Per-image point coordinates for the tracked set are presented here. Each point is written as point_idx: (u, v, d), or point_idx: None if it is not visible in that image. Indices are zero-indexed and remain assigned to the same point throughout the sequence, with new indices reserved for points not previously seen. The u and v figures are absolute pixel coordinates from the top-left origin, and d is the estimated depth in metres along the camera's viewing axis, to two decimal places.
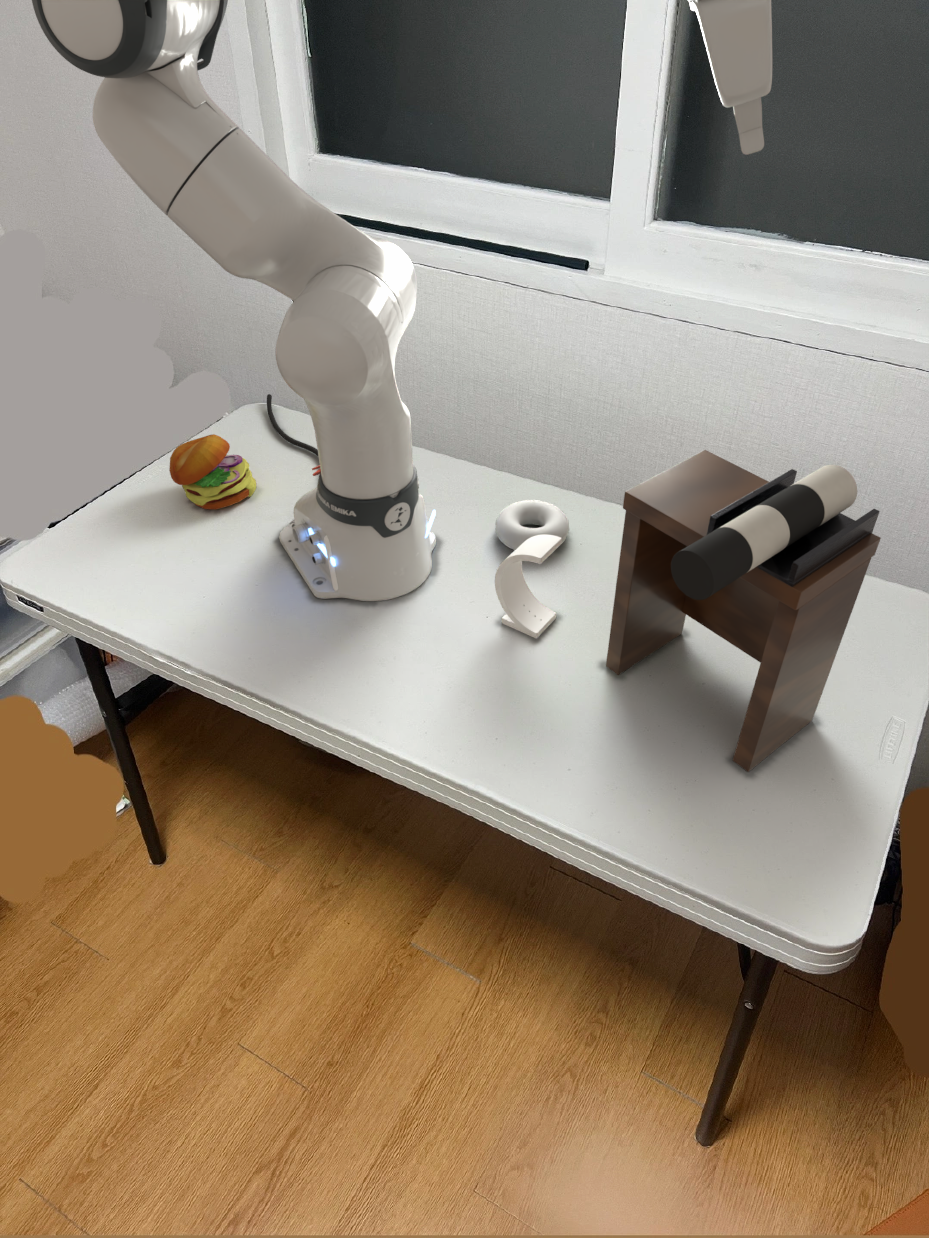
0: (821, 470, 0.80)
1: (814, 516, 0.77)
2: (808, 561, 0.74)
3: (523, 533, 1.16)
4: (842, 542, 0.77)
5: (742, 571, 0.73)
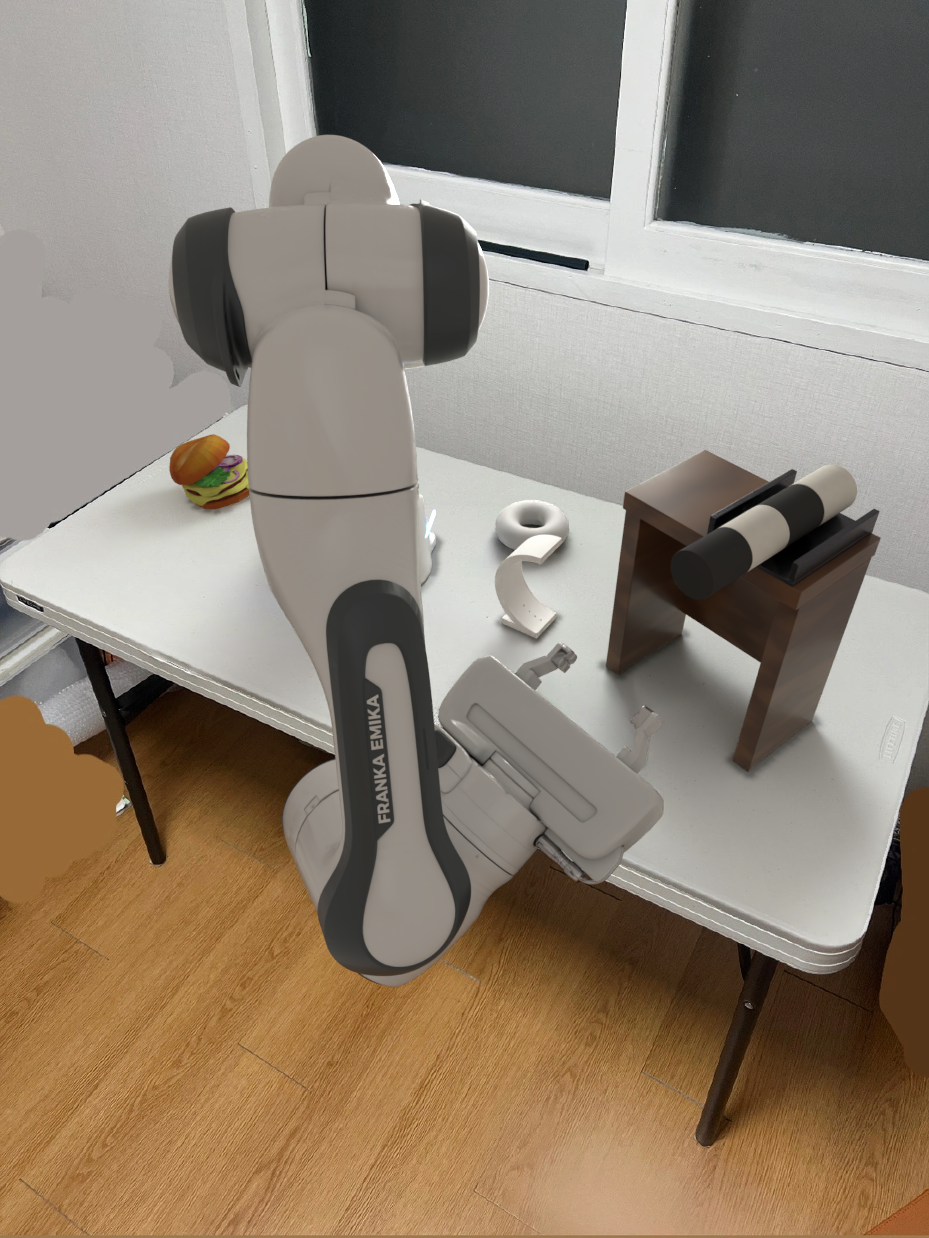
0: (820, 470, 0.80)
1: (814, 515, 0.77)
2: (808, 561, 0.74)
3: (523, 533, 1.16)
4: (842, 542, 0.77)
5: (742, 570, 0.73)
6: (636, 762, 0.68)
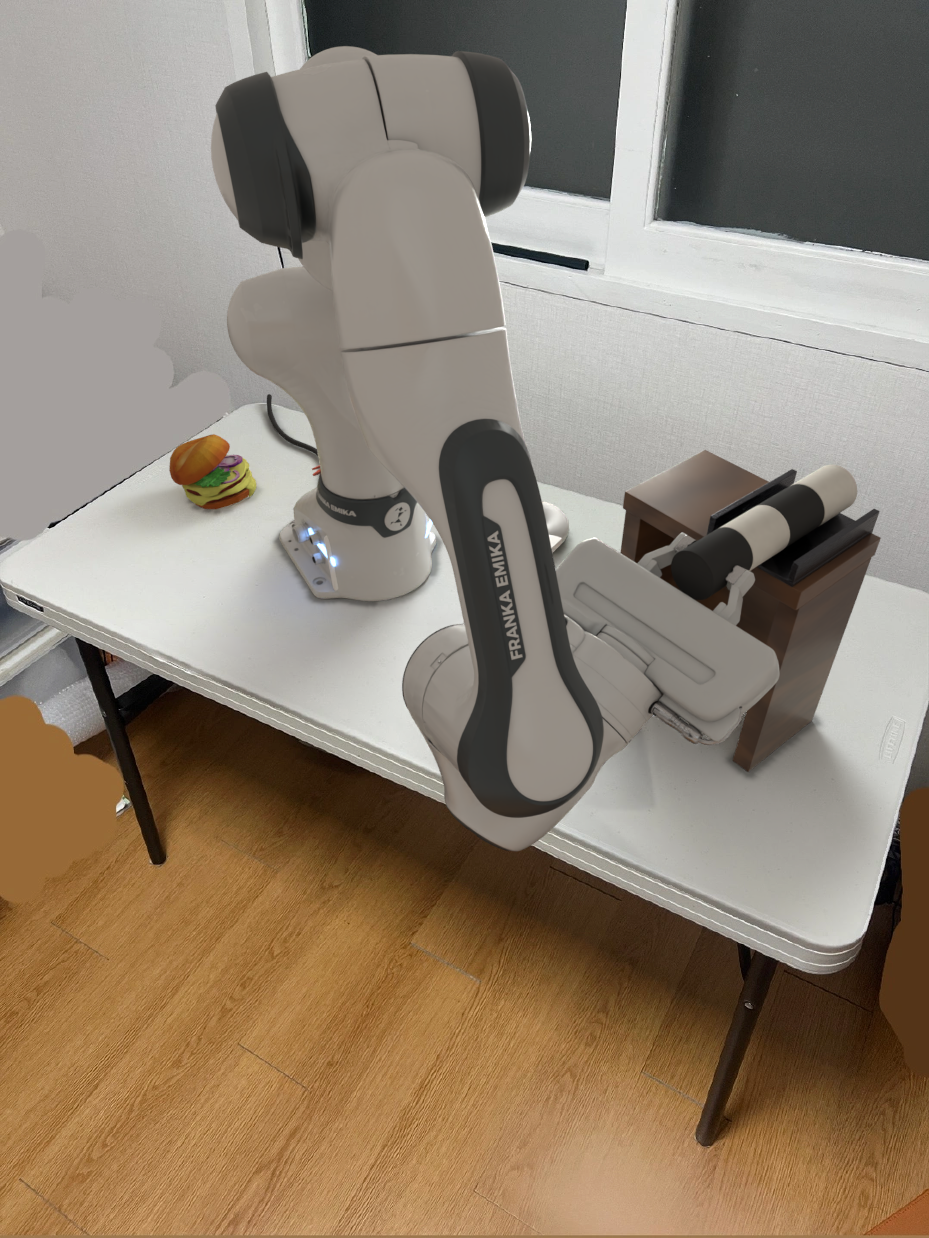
0: (821, 470, 0.80)
1: (814, 516, 0.77)
2: (808, 561, 0.74)
3: None
4: (842, 542, 0.77)
5: None
6: (732, 616, 0.70)
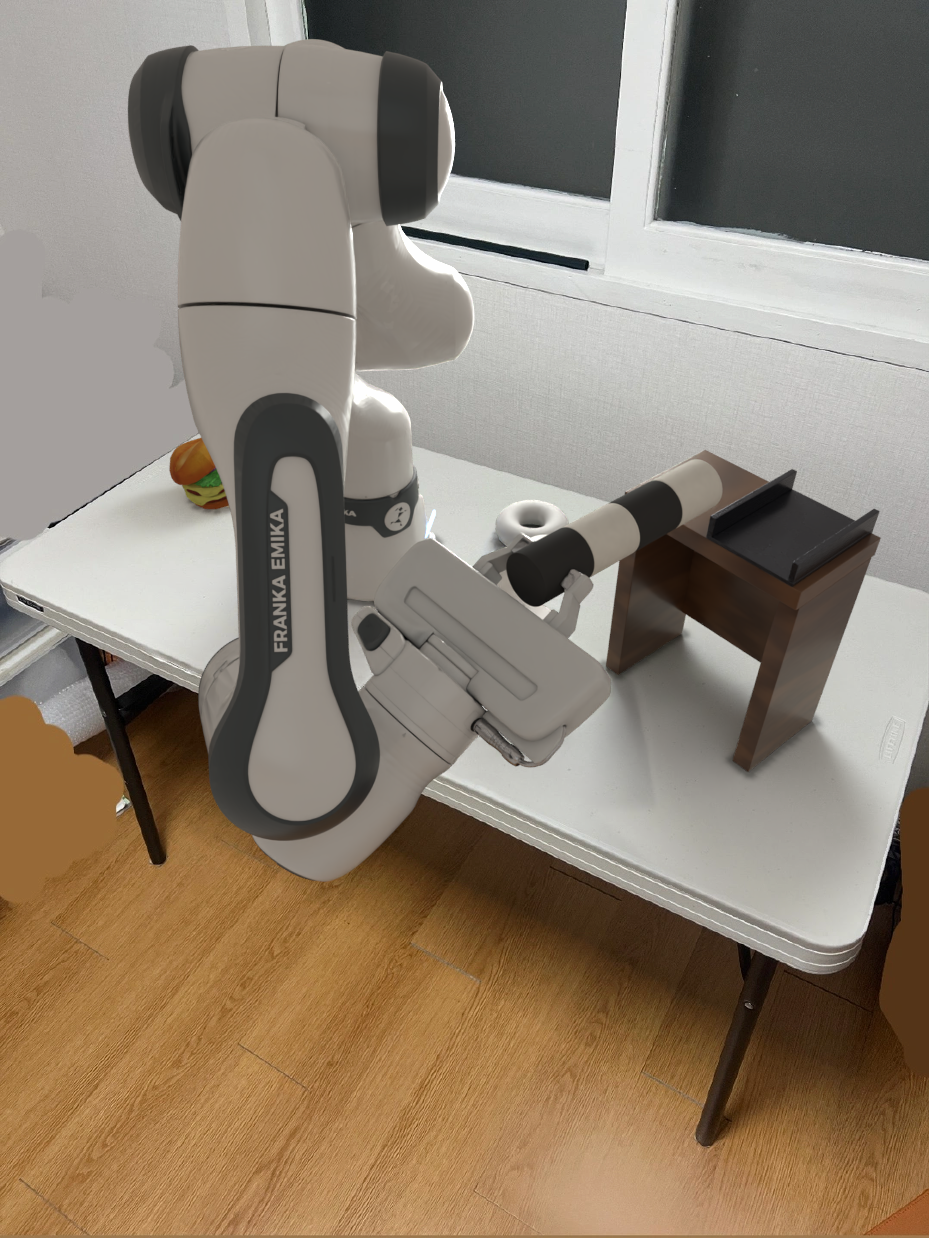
0: (683, 465, 0.74)
1: (669, 515, 0.70)
2: (808, 561, 0.74)
3: None
4: (842, 542, 0.77)
5: None
6: (563, 625, 0.64)
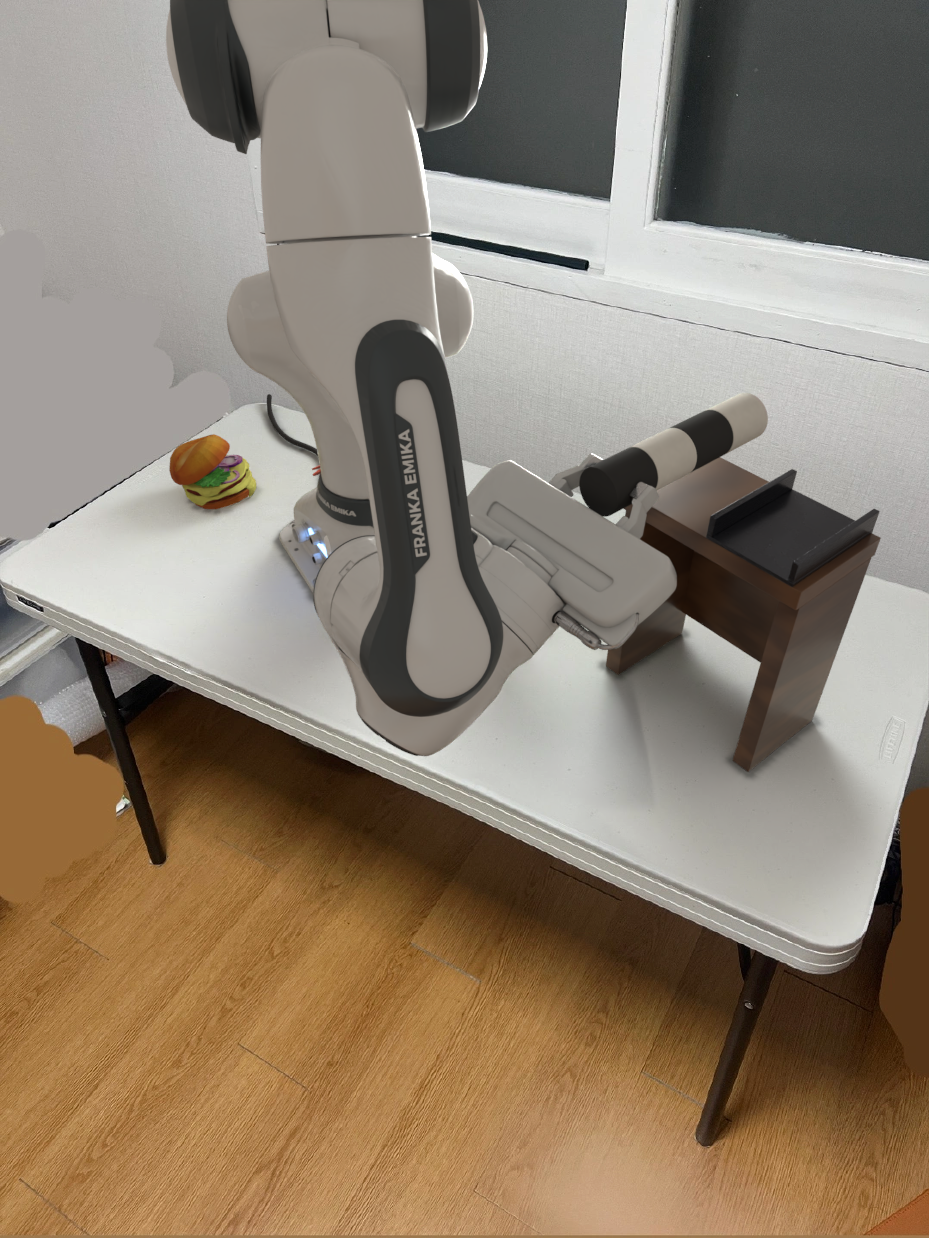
0: (733, 398, 0.82)
1: (722, 439, 0.79)
2: (808, 561, 0.74)
3: None
4: (842, 542, 0.77)
5: None
6: (634, 529, 0.72)
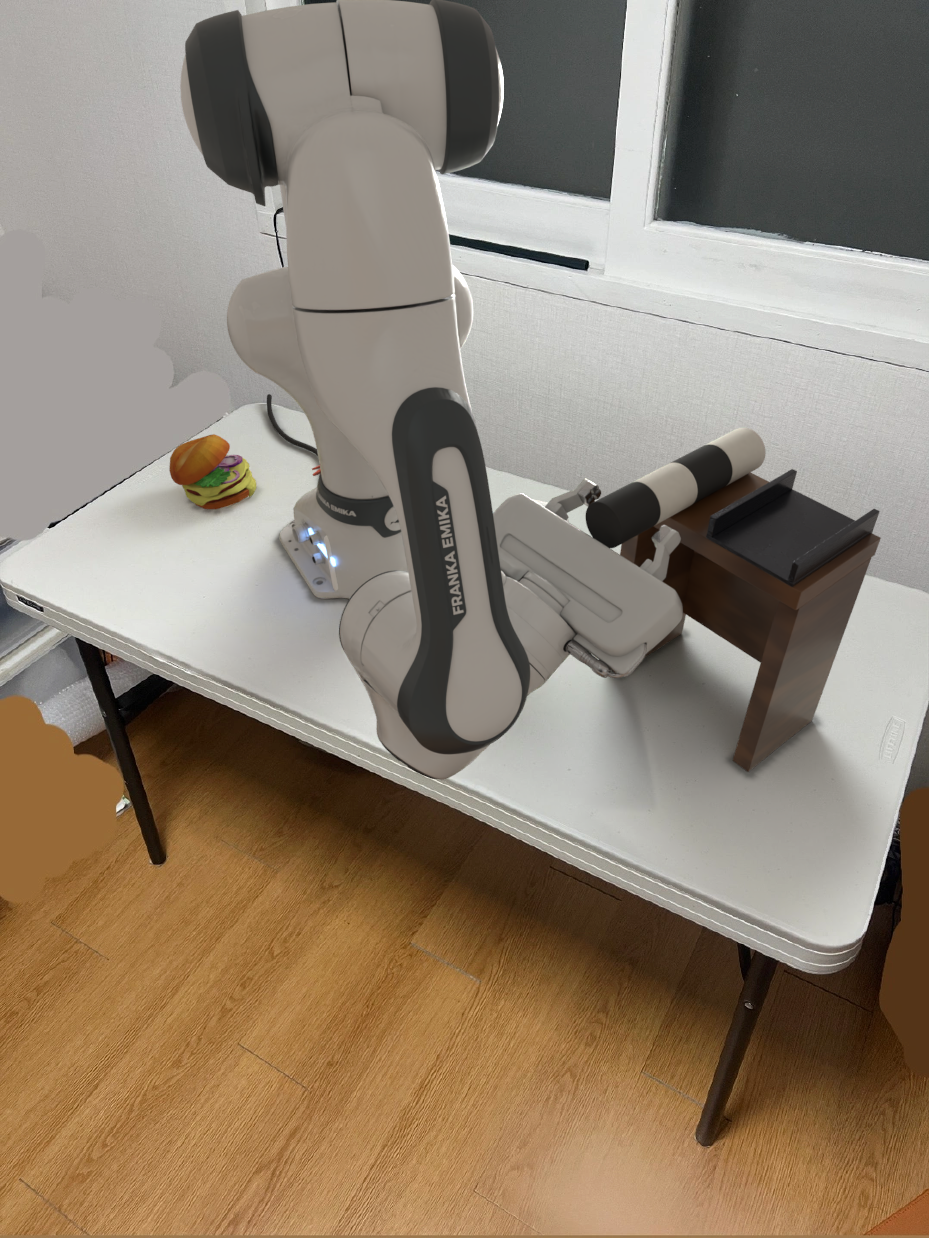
0: (728, 433, 0.86)
1: (721, 469, 0.83)
2: (808, 561, 0.74)
3: None
4: (842, 542, 0.77)
5: (651, 517, 0.78)
6: (657, 572, 0.74)
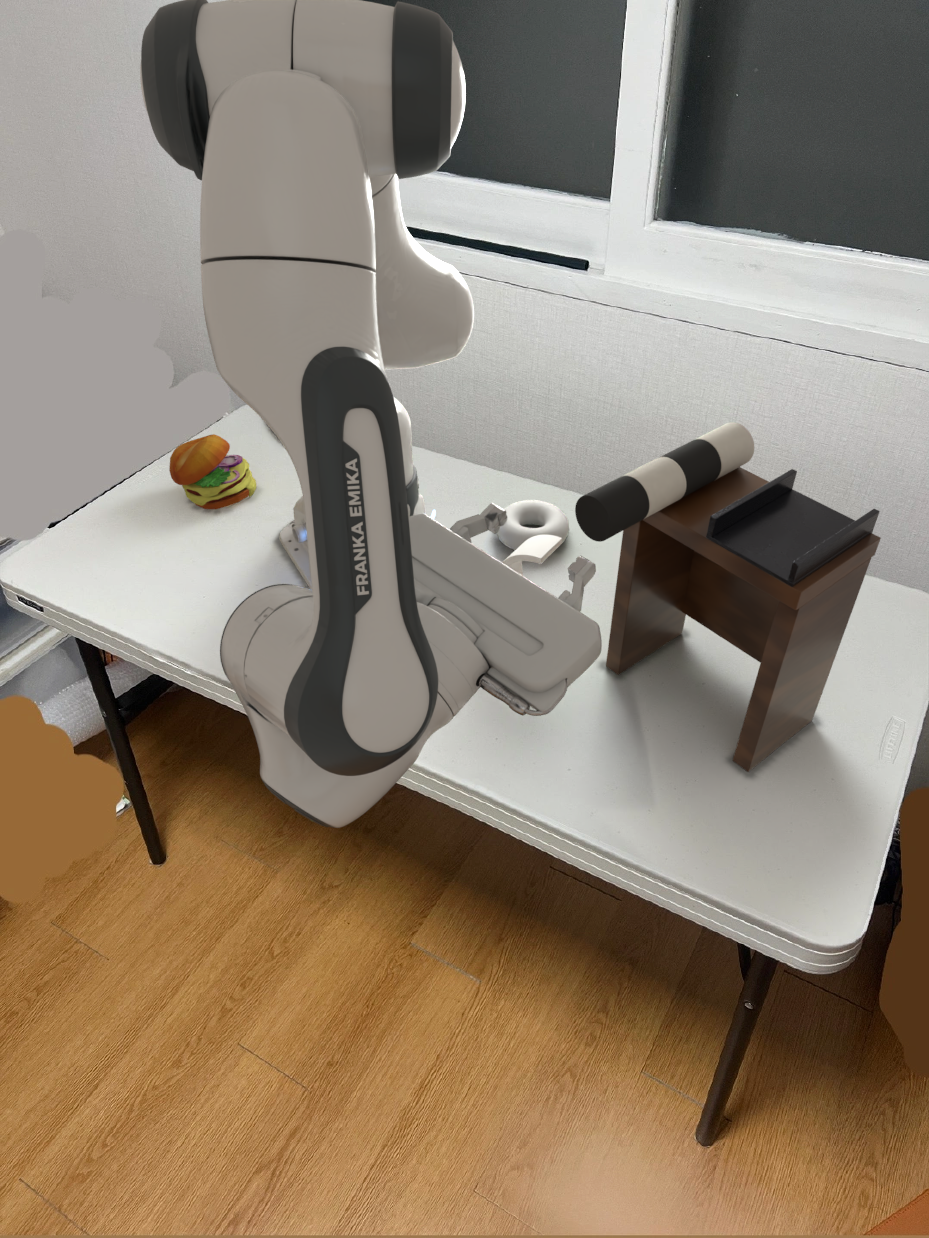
0: None
1: (703, 451, 0.83)
2: (808, 561, 0.74)
3: (523, 533, 1.16)
4: (842, 542, 0.77)
5: (637, 497, 0.79)
6: (576, 604, 0.71)
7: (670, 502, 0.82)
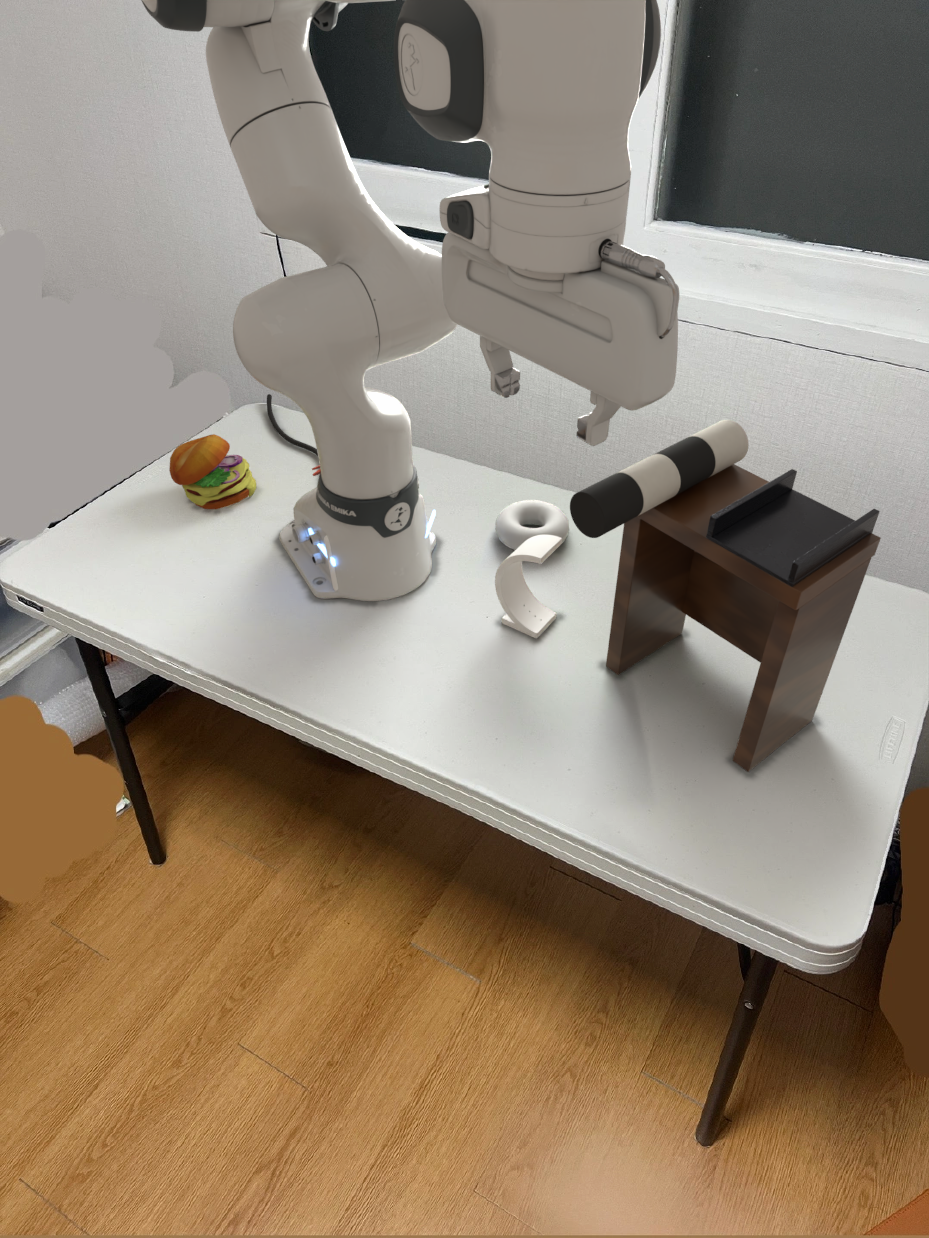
0: None
1: (692, 444, 0.84)
2: (808, 561, 0.74)
3: (523, 533, 1.16)
4: (842, 542, 0.77)
5: (627, 487, 0.79)
6: None
7: (666, 493, 0.82)
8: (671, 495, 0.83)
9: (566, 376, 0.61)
